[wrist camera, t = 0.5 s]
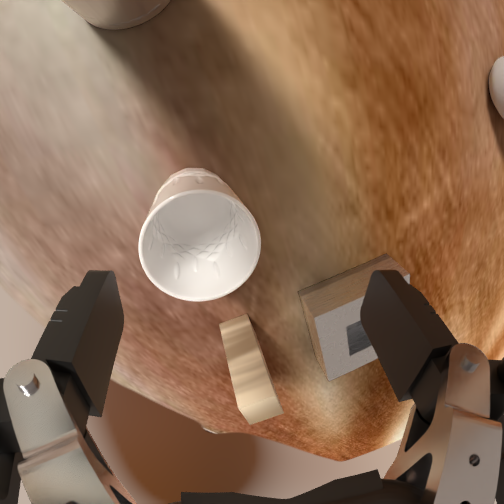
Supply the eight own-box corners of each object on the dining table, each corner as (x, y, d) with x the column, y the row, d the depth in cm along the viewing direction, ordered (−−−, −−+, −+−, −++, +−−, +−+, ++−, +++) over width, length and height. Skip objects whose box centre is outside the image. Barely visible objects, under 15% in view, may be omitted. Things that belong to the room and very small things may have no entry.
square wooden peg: (219, 324, 35) (238, 408, 25) (247, 313, 35) (275, 395, 25) (229, 343, 37) (250, 424, 27) (255, 333, 37) (283, 413, 27)
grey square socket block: (298, 291, 36) (313, 318, 31) (386, 253, 36) (409, 273, 32) (315, 355, 41) (328, 381, 37) (388, 321, 42) (406, 342, 38)
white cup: (238, 161, 28) (267, 191, 19) (232, 241, 31) (255, 299, 22) (150, 160, 26) (135, 190, 17) (152, 242, 29) (143, 303, 21)
